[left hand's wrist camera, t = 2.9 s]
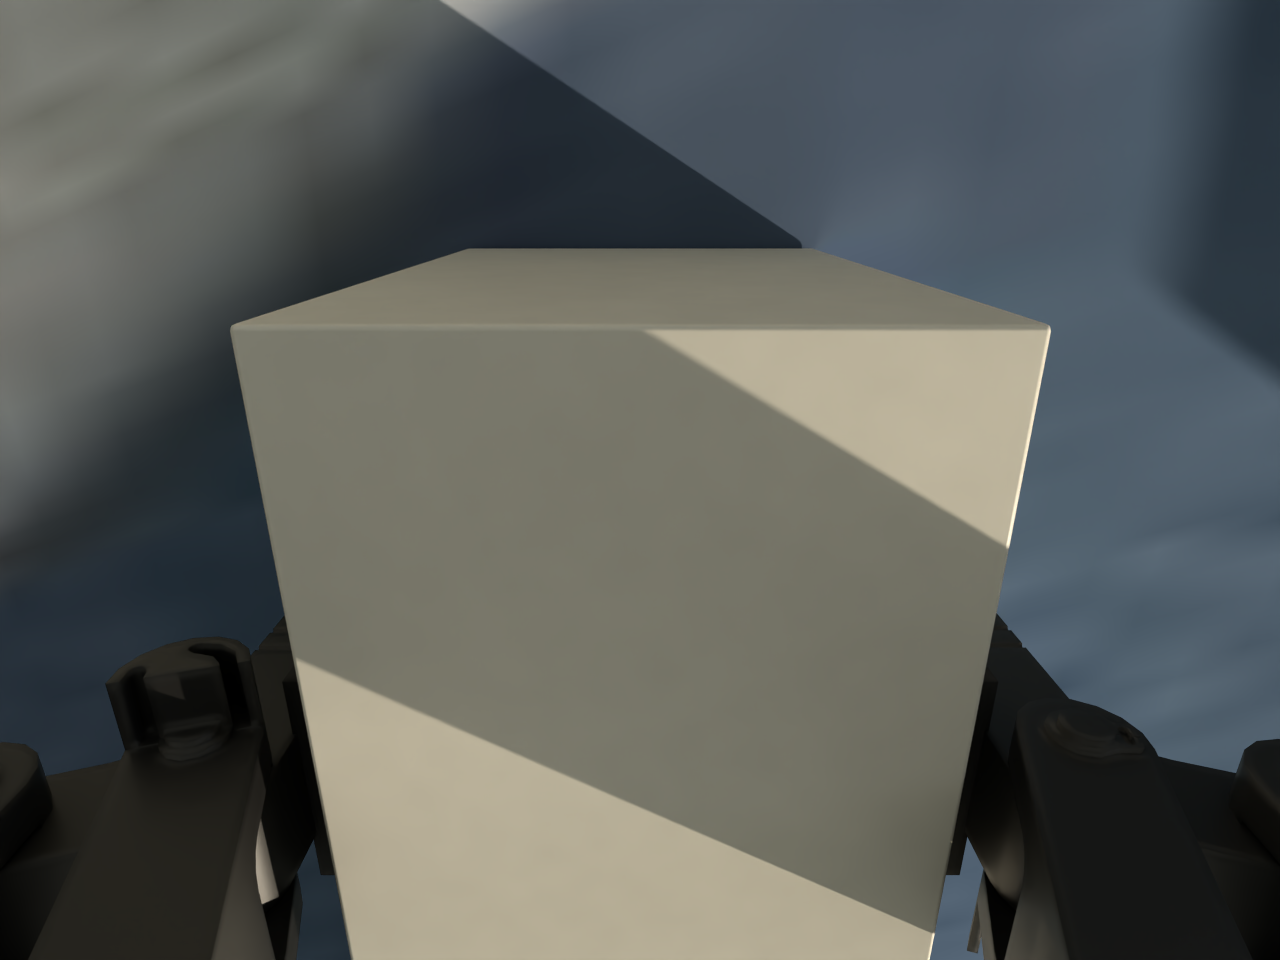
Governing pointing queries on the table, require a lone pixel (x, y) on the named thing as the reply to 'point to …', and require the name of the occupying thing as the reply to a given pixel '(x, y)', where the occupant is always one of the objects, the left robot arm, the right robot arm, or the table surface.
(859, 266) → the beam
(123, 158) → the table surface
